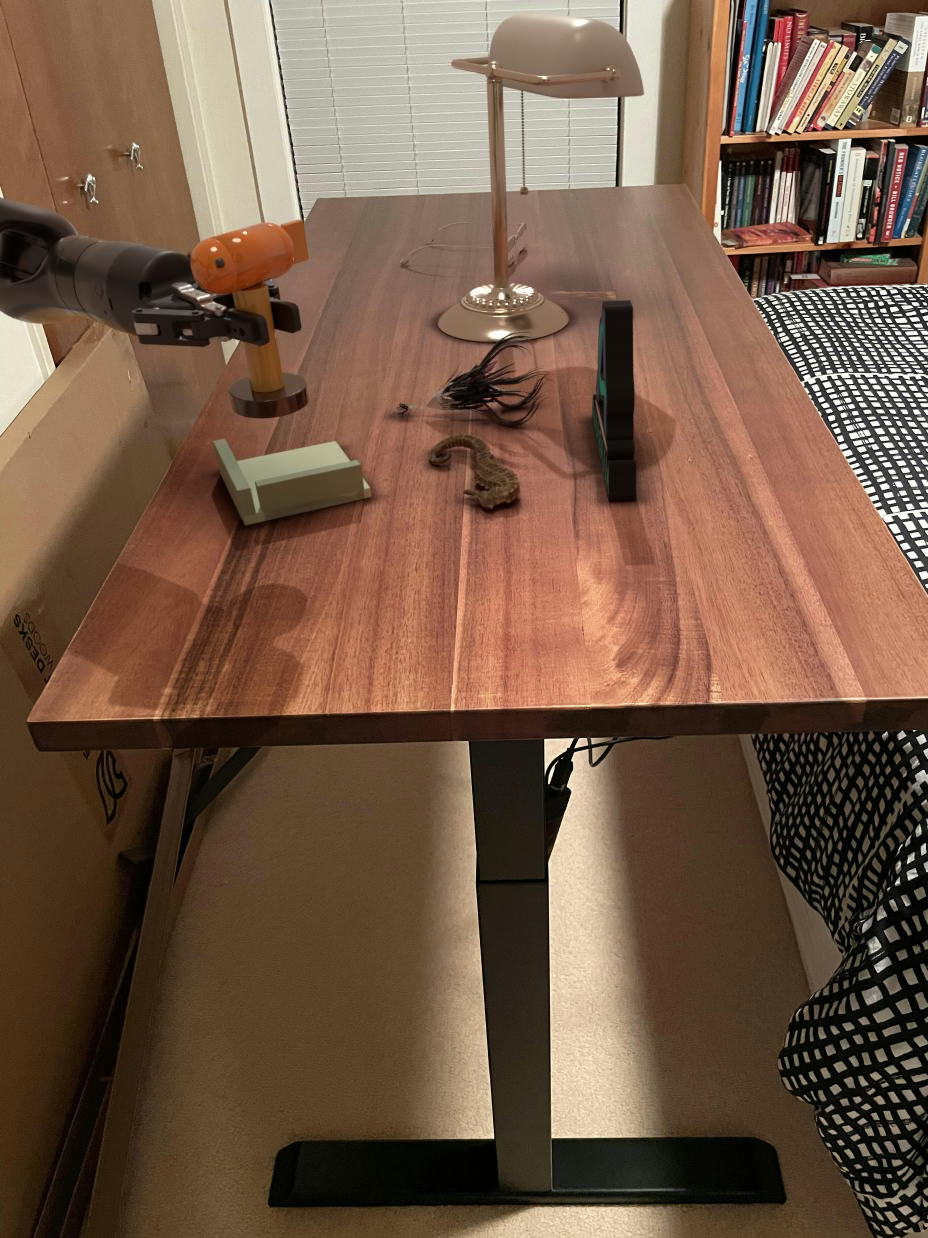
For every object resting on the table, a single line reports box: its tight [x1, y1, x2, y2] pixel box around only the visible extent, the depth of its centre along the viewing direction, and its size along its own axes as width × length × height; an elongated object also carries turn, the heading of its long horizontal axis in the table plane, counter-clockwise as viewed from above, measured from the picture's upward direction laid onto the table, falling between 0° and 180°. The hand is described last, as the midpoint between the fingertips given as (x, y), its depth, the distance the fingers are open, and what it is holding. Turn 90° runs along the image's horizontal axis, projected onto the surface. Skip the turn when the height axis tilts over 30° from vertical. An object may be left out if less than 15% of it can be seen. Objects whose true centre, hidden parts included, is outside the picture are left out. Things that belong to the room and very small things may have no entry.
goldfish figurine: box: [185, 219, 310, 420], centre depth 78 cm, size 11×6×14 cm, turn 144°
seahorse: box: [427, 433, 521, 510], centre depth 93 cm, size 6×15×2 cm, turn 24°
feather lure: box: [396, 331, 556, 428], centre depth 103 cm, size 9×18×8 cm, turn 83°
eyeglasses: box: [399, 221, 527, 266], centre depth 157 cm, size 15×18×4 cm
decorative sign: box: [591, 299, 637, 501], centre depth 92 cm, size 19×2×15 cm, turn 1°
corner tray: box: [212, 438, 372, 526], centre depth 93 cm, size 12×12×4 cm
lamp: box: [436, 12, 645, 343], centre depth 122 cm, size 26×24×34 cm
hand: (280, 325), depth 76 cm, fingers closed on goldfish figurine, 3 cm apart
